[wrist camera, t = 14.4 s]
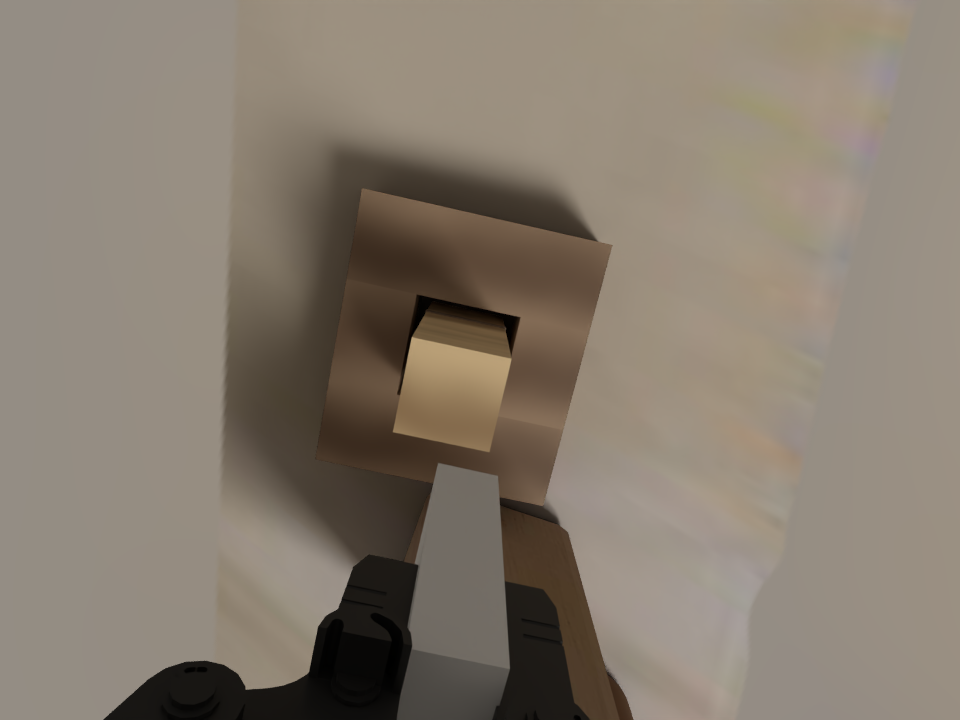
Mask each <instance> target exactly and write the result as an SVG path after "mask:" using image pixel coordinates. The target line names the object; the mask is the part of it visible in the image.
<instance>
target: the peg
mask: <svg viewBox="0 0 960 720" xmlns="http://www.w3.org/2000/svg"><path fill="white" fill-rule="evenodd" d="M511 360H512V358H511V353H510V349H509V344H508V340H507V335H506V327H505V326H504V322H503V317H502V316H498V315H494V314H489V313H485V312H480V311H476V310H471V309H466V308H462V307H457V306H453V305H448V304H444V303H439V302H435V301H432V303H431V305H430V306H429V308H428V310H427V309H426V312H425V315H424V317H423V319H422V320H421V322H420V324H419V326H418V327H417V329H416V331H415V333H414V334H413V336H412V339H411V344H410V349H409V354H408V359H407V364H406V369H405V374H404V379H403V384H402V389H401V394H400V399H399V404H398V409H397V414H396V419H395V424H394V429H393V432H395V433H400V434H404V435H409V436H414V437H419V438H423V439H428V440H433V441H438V442H443V443H447V444H452V445H457V446H462V447H467V448H471V449H476V450H481V451H486V452H490V448H491V443H492V439H493V435H494V431H495V427H496V423H497V418H498V414H499V410H500V406H501V402H502V397H503V393H504V389H505V385H506V381H507V377H508V372H509V368H510V364H511Z"/></svg>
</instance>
